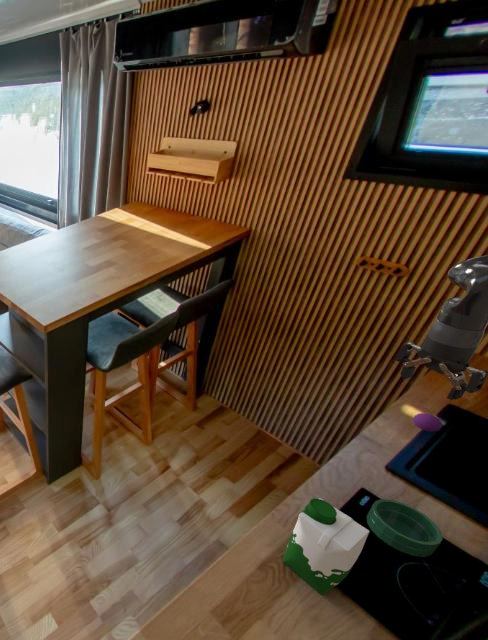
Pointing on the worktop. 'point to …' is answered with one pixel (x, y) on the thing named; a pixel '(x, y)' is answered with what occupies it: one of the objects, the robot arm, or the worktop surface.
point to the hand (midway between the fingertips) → (427, 387)
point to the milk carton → (324, 545)
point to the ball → (427, 422)
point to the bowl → (404, 528)
